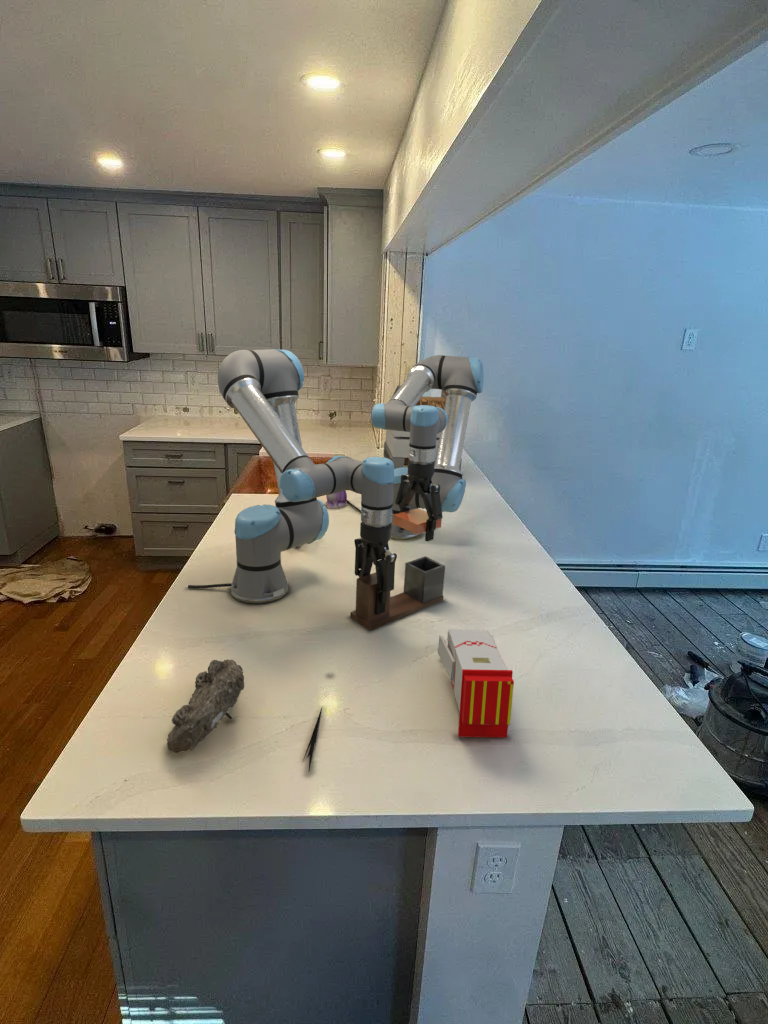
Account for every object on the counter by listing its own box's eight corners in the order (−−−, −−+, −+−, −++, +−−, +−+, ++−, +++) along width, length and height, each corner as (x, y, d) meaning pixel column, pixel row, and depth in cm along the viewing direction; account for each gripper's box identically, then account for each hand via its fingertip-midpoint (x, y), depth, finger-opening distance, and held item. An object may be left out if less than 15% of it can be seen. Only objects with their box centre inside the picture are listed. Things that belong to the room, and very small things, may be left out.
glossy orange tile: (392, 527, 167) (393, 514, 166) (417, 521, 174) (418, 508, 172) (416, 538, 160) (417, 524, 159) (440, 531, 167) (441, 517, 165)
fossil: (192, 660, 117) (244, 628, 112) (224, 691, 120) (276, 661, 115) (142, 746, 98) (202, 712, 93) (182, 779, 101) (242, 748, 96)
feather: (331, 679, 122) (336, 673, 122) (307, 777, 96) (313, 769, 95) (324, 675, 122) (329, 669, 121) (298, 772, 95) (304, 764, 95)
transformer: (382, 463, 289) (386, 382, 275) (445, 464, 293) (451, 384, 279) (390, 482, 257) (394, 392, 243) (460, 483, 261) (468, 394, 247)
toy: (488, 613, 130) (523, 677, 101) (484, 667, 133) (517, 744, 104) (435, 612, 130) (455, 676, 101) (432, 666, 133) (451, 743, 103)
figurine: (329, 510, 219) (330, 473, 214) (320, 502, 228) (320, 466, 222) (352, 507, 223) (353, 470, 218) (341, 499, 232) (342, 464, 227)
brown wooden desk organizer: (350, 617, 145) (351, 576, 141) (422, 589, 161) (425, 552, 157) (370, 630, 139) (371, 589, 135) (443, 600, 155) (446, 562, 152)
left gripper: (341, 514, 140) (339, 598, 147) (389, 537, 127) (384, 628, 135) (364, 508, 144) (362, 590, 152) (413, 530, 132) (407, 618, 139)
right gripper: (385, 454, 166) (382, 525, 173) (441, 472, 150) (434, 549, 157) (404, 451, 170) (400, 520, 178) (460, 468, 155) (453, 543, 162)
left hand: (372, 607), depth 143 cm, fingers closed on brown wooden desk organizer, 5 cm apart
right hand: (416, 534), depth 168 cm, fingers closed on glossy orange tile, 10 cm apart
